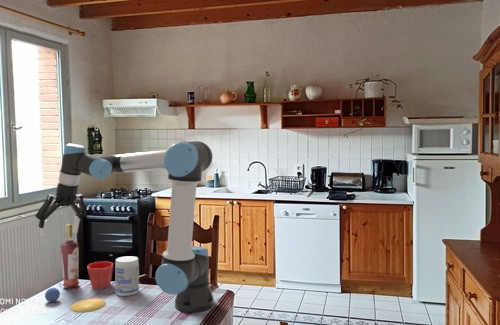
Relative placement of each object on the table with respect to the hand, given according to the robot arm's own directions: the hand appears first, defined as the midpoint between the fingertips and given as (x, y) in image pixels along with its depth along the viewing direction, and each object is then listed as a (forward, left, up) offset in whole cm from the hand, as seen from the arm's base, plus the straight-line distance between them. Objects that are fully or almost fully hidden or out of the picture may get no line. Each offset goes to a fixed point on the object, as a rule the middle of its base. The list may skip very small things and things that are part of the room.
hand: (58, 234), depth 174 cm
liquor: (+18, -5, -28) cm, 34 cm away
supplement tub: (-1, -26, -28) cm, 38 cm away
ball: (+3, +3, -25) cm, 26 cm away
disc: (-8, -9, -28) cm, 31 cm away
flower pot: (+13, -17, -28) cm, 35 cm away
